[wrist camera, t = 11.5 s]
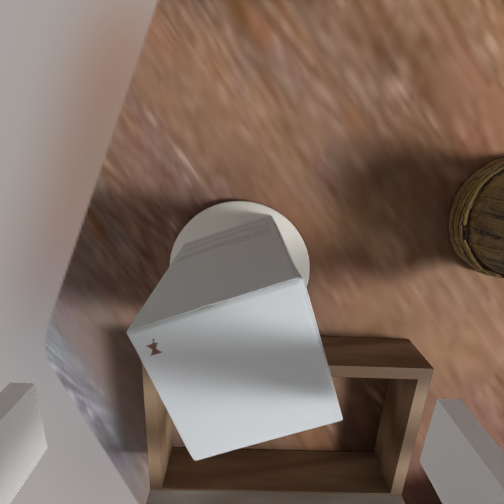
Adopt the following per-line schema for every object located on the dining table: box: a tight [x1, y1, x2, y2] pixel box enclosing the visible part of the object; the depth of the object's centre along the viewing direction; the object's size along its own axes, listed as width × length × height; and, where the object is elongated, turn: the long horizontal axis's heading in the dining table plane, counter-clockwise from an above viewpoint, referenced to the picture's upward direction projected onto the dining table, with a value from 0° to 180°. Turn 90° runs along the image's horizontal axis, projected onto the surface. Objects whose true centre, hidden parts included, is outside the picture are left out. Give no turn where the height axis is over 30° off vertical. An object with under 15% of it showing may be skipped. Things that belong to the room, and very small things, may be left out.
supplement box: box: [127, 215, 343, 461], centre depth 19 cm, size 7×7×13 cm
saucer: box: [170, 200, 310, 287], centre depth 26 cm, size 11×11×1 cm
